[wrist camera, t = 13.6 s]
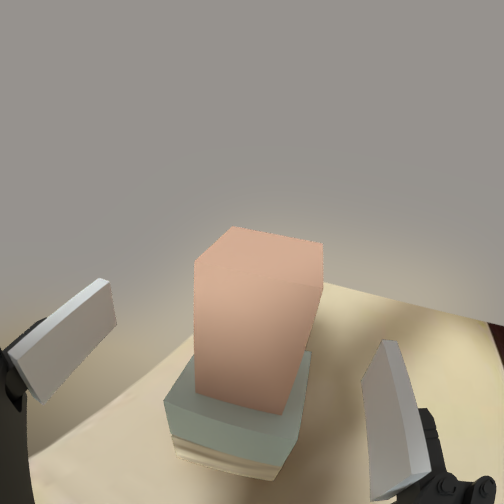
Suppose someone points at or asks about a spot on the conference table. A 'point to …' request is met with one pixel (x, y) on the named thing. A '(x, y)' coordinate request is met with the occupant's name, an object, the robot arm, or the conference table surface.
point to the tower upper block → (236, 420)
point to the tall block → (254, 316)
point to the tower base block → (223, 460)
